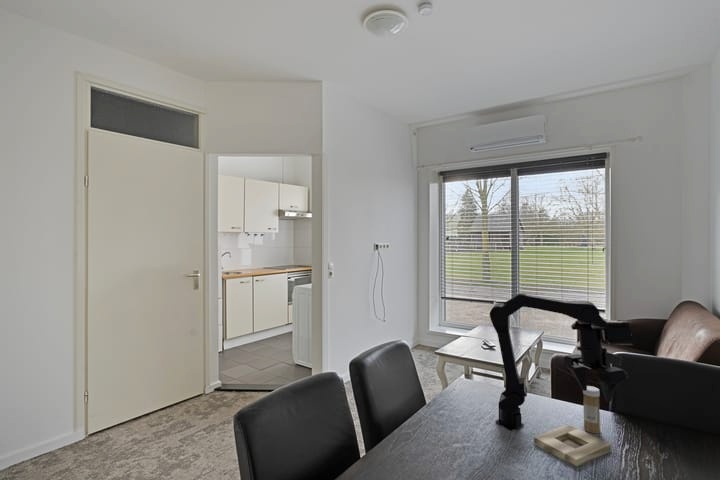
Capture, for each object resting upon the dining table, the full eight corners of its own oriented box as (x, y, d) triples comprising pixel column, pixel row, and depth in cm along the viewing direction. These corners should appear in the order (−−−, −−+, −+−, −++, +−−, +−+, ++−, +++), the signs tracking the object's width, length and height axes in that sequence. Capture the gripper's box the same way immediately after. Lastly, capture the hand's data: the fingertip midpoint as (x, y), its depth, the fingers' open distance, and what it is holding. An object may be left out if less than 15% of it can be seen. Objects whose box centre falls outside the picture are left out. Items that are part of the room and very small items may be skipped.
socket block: (533, 443, 110) (533, 437, 110) (567, 430, 117) (567, 424, 117) (576, 467, 98) (576, 459, 98) (610, 451, 106) (610, 444, 106)
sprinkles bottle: (603, 431, 117) (602, 388, 117) (596, 435, 114) (595, 392, 114) (587, 425, 121) (587, 384, 121) (580, 429, 118) (580, 387, 118)
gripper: (641, 348, 103) (647, 404, 103) (590, 334, 122) (595, 382, 121) (606, 352, 102) (612, 409, 101) (560, 338, 120) (565, 386, 120)
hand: (596, 395), depth 111 cm, fingers open, 9 cm apart
